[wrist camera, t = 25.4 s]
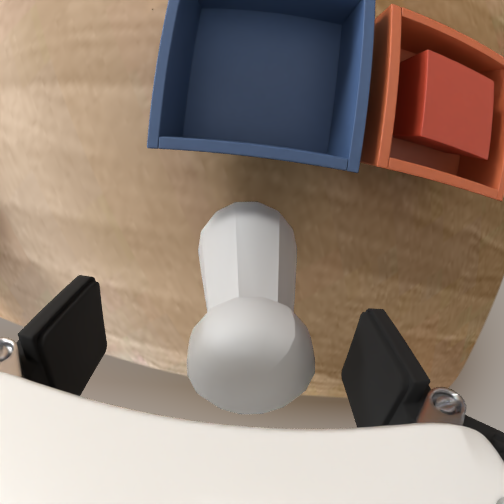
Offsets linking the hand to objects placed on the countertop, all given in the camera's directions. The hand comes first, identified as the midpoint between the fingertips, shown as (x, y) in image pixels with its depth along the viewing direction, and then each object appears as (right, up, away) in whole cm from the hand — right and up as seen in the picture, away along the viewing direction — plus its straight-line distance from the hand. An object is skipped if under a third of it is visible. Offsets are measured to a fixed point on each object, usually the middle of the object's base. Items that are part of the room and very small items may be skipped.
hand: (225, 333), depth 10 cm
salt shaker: (+1, +4, +11) cm, 11 cm away
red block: (+12, +12, +7) cm, 19 cm away
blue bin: (+2, +14, +7) cm, 15 cm away
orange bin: (+12, +13, +7) cm, 19 cm away
